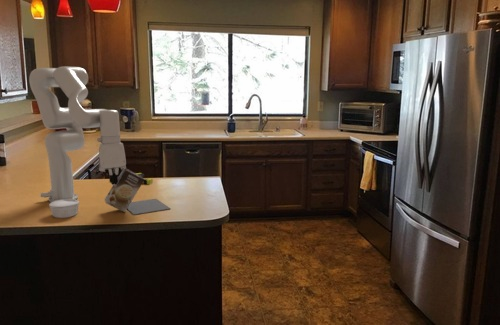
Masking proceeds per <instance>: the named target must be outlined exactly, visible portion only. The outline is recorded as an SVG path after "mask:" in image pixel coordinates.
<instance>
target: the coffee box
mask: <svg viewBox="0 0 500 325" xmlns="http://www.w3.org/2000/svg"><path fill="white" fill-rule="evenodd" d="M117 178H118V182H117V184H114V185H112V187H111V188H110V190H109V191H108V193H107V195H106V196H105V197H104V202H105V204H106V205H109V206H110V207H112V208H114V209H117V210H119V211H121V212H124V213H126V212H127V211H128V209H127V208H128V206H129V205H130V203H131V202H133V200H134V198H135V197H136V195H137V193H138V191H139V190H140V188H141V186H142V185H143V184H142V183H143V181H144V179H145V177H143V178H142V177H141V176H139V175H137V174H136V172H134V171H132V170H130V169H128V168H126V169H123V170H121V172H119V174H118V176H117Z"/></svg>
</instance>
